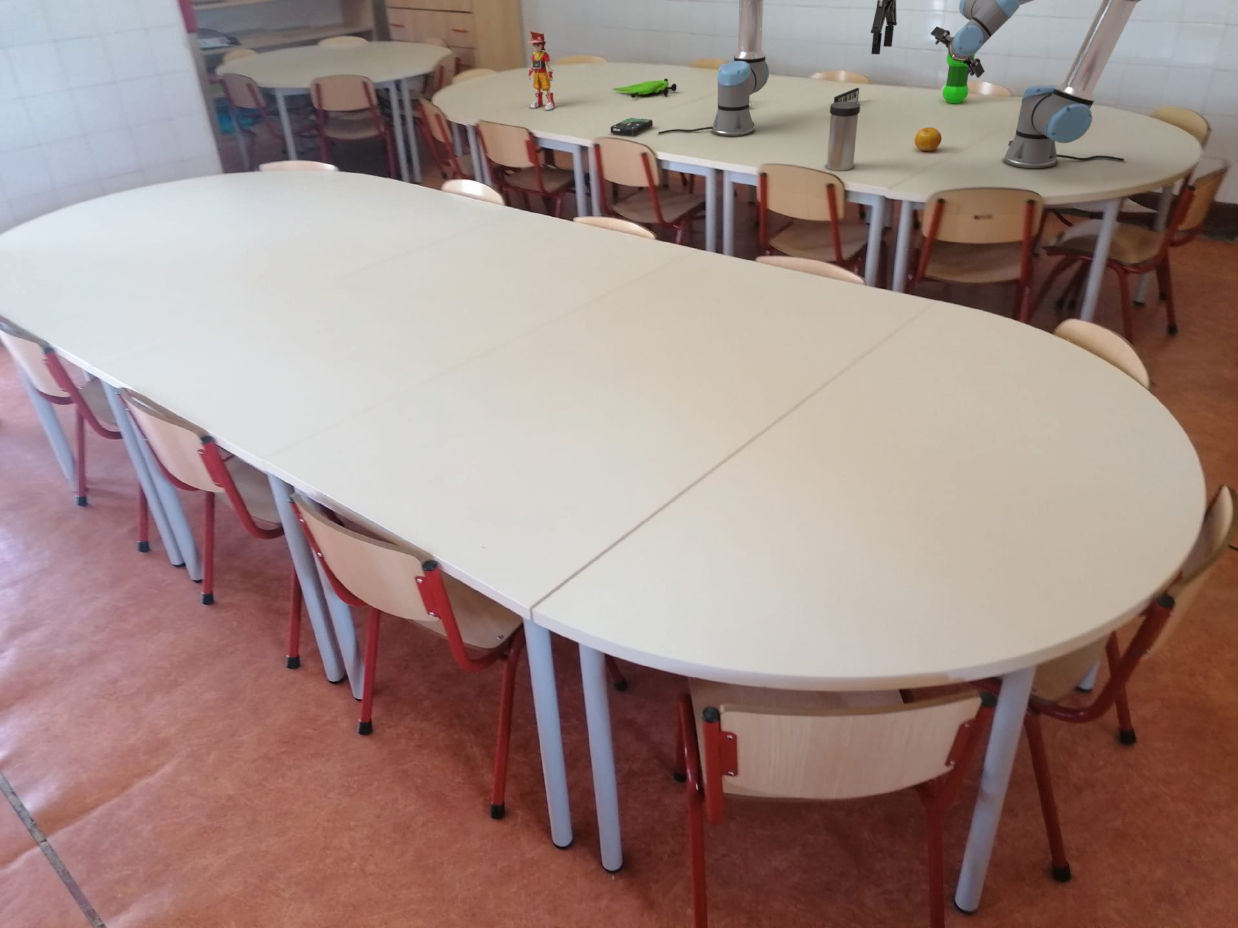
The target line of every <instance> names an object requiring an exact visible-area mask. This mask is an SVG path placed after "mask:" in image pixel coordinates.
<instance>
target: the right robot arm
mask: <svg viewBox="0 0 1238 928" xmlns="http://www.w3.org/2000/svg"><path fill="white" fill-rule="evenodd" d="M1141 1H1142V0H1102V1H1101V3H1100V5H1099V7H1098V10H1097V11H1096V14H1095V16H1094V17H1093V20H1092V22H1091V24H1090V26H1089V29H1088V30H1087V33H1086V35H1085V36H1084V38H1083V41H1082V43H1081V45H1080V47H1079V49H1078V51H1077V53H1076V56H1075V58H1074V60H1073V62H1072V64H1071V66H1070V68H1069V70H1068V72H1067V75H1066V76H1065V79H1064V81H1063V83H1061V84H1059V85H1057V84H1056V85H1055V84H1047V85H1046V84H1045V85H1031V86H1029V87H1026V88H1025V90H1024V91H1023V95H1022V98H1021V104H1020V110H1019V115H1018V120H1017V124H1016V125H1017V126H1016V131H1015V136H1014V138H1013V139H1012V140H1009V141H1008V145H1007V146H1008V149H1007V151H1006V153H1005V155H1004V162H1005V163H1006V164H1008V165H1009V166H1012V167H1016V168H1022V169H1032V170H1033V169H1035V170H1036V169H1047V168H1050V167H1053V166H1055V165H1056V164H1057V163H1056V162H1057V159H1058V158H1064V159H1070V160H1075V161H1088V160H1092V159H1110V160H1116V161H1121V162H1124V161H1125V158H1123V157H1116V156H1111V155H1091V156H1087V157H1079V156H1074V155H1066V154H1057V147H1056V146H1057V145H1056V143H1060V144H1070V143H1073V142H1075V141H1076V140H1079V139H1080V138H1082V137H1083V136H1084V135H1085V134H1086V133H1087V131H1088V130H1089V129H1090V127H1091V125H1092V122H1093V115H1092V110H1091V108H1092V106H1093V104H1094V102H1095V101H1096V99H1095V95H1094V93H1093V92H1094V90H1095V88H1096V86H1097V84H1098V82H1099V80H1100V78H1101V76H1102V74H1103V71H1104V69H1105V68H1106V66H1107V65H1108V63H1109V60H1110V57H1111V56H1112V54H1113V52H1114V50H1115V49H1116V48H1115V47H1116V46H1117V44H1118V42H1119V39H1120V38H1121V35H1122V34H1123V32H1124V30H1125V27H1126V26H1127V23H1128V21H1129V20H1130V17H1131V16H1132V13H1133V11H1134V9H1135V7H1136V5H1137V4H1138V3H1139V2H1141ZM1030 2H1034V0H960V1H959V3H958V10H959V13H960V15H961V16H962V17H964V18H965V19H966V20H968V22H967V23H966V24H964V26H963V27H961V28H960V29H959V30H958V31H957V32H956V33H955V35H954V36H951V32H950V30H948V29H944V28H942V27H940V26H935V28H934V29H933V30H931V32H930V35H931V36H933V37H934V39H935V40H936V41H935V42H934V44H935V45H936V46H937V45H938V44H939V43H942V44H943V45H945V48H946V49H947V54H948V53H949V56H950V57H951V59H953V60H954V61H956V62H963V63H964V64H966V65H967V67H968V68H969V70H968V72H967V74H968V75H970V76H971V77H973V76H974V75H975V76H976V79H977V78H978V79H979V78H980V77H981V76H982V75H983V74H984V73H985V69H984V67H983V65H982V63H981V58H977V57H976V58H973V54H975V55H976V54H977V53H978V51H980V49H982V47H983V46H984V45H985V44H986V43H987V42H988V41H989V40H990V38H991V37H992V36H993V35H994V34H995V33H996V32H997V31H998V30H999V29H1000V28H1002V26H1003V25H1004V24H1006V23H1007V21H1008V20H1010V19H1011V18H1012V16H1013V15H1014V14H1015V13H1016V12H1017V11H1018V9H1019V8H1020V6H1023V5H1024V4H1027V3H1030Z"/></svg>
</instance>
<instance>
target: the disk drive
mask: <svg viewBox="0 0 1238 928" xmlns="http://www.w3.org/2000/svg"><path fill="white" fill-rule="evenodd" d="M651 128H653V119H647V118H637V117H636V118H635V117H629V118H627V119H624V120H621V121H619V122H618V123H615V124H613V125H612V126H610V134H613V135H614V134H615V135H620V136H636V135H638V134H640V133H642V132H644V131H646V130H649V129H651Z"/></svg>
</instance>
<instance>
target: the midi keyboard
mask: <svg viewBox="0 0 1238 928" xmlns="http://www.w3.org/2000/svg"><path fill="white" fill-rule="evenodd" d="M859 94H860V88H859V87H856V88H853V89H850V90H848V91H846V92H843V93H840V94H838V95H835V96H834V97H833V103H836V102H855V103H857V102H858V101H859Z"/></svg>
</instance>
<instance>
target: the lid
mask: <svg viewBox="0 0 1238 928" xmlns="http://www.w3.org/2000/svg"><path fill="white" fill-rule="evenodd" d="M860 113H861V104H860V103H858V102H836V103H834V102H833V103H831V104H830V107H829V114H830V115H831V114H832V115H836V116H853V115H857V114H858V115H859V114H860Z"/></svg>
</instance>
